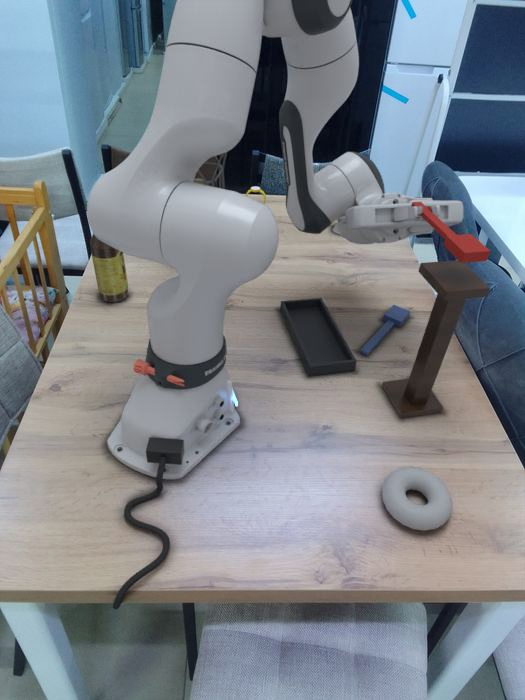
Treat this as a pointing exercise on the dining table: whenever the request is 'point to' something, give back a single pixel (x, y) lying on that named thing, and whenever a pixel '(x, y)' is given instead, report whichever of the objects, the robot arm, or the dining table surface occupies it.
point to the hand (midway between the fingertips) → (427, 211)
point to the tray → (317, 337)
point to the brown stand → (435, 336)
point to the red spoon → (456, 239)
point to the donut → (413, 513)
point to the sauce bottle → (109, 271)
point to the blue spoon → (387, 326)
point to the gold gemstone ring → (257, 189)
